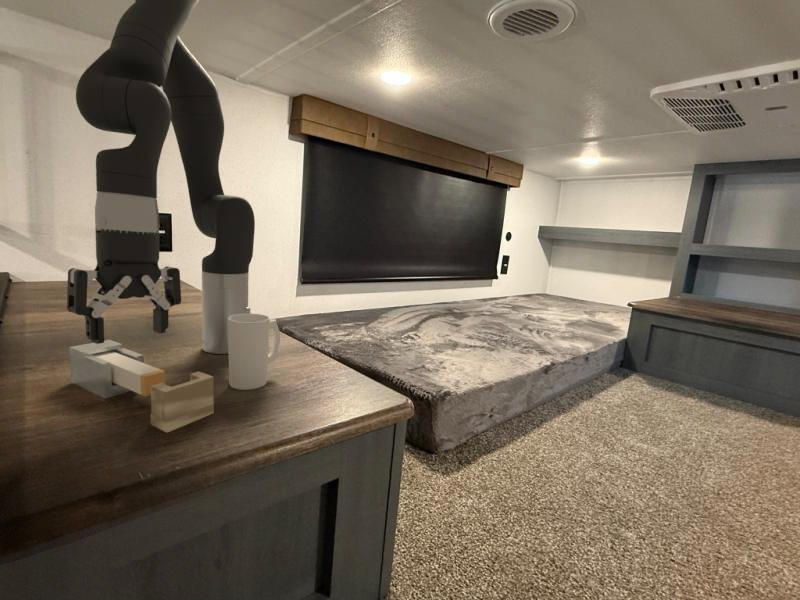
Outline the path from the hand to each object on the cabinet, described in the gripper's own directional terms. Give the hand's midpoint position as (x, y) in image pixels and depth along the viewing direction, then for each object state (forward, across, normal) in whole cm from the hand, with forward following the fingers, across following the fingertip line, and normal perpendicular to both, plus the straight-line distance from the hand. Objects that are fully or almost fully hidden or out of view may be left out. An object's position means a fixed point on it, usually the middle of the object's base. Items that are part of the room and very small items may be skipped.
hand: (130, 337), depth 58 cm
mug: (+10, -17, +8) cm, 21 cm away
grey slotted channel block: (+10, -1, -8) cm, 13 cm away
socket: (+10, -1, +12) cm, 15 cm away
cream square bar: (+8, -1, -4) cm, 9 cm away
